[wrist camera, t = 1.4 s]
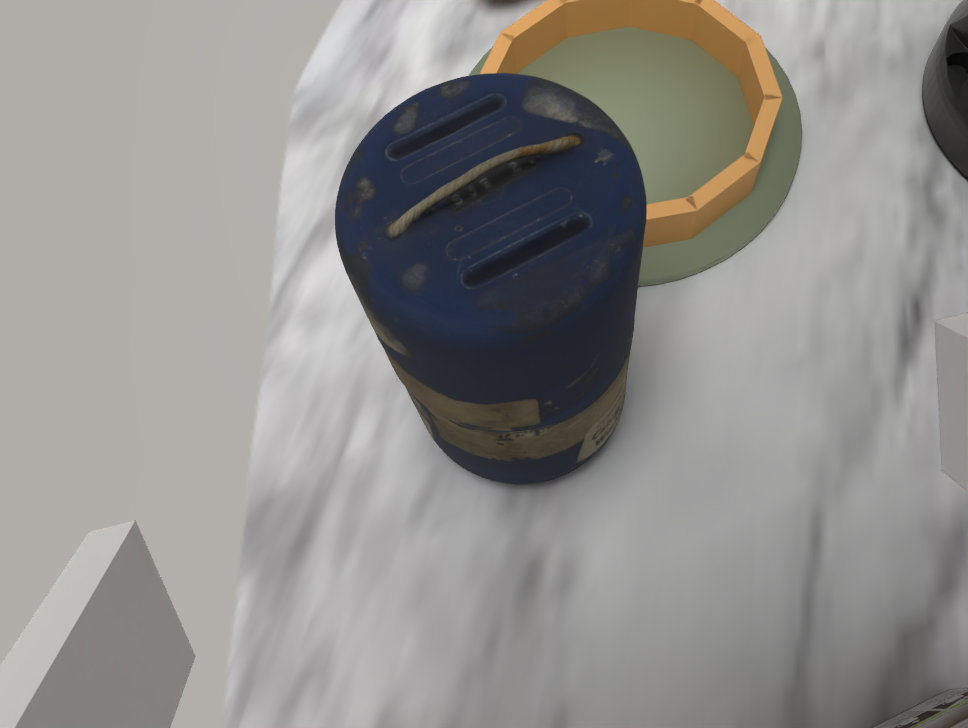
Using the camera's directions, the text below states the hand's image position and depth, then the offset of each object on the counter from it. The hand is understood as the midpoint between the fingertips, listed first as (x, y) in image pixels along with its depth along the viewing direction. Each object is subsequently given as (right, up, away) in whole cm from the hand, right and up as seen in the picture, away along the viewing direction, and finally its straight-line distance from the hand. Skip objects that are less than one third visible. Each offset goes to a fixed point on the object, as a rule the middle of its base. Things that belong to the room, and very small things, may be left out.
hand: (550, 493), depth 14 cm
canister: (+1, +1, +26) cm, 26 cm away
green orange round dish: (+6, +14, +31) cm, 35 cm away
